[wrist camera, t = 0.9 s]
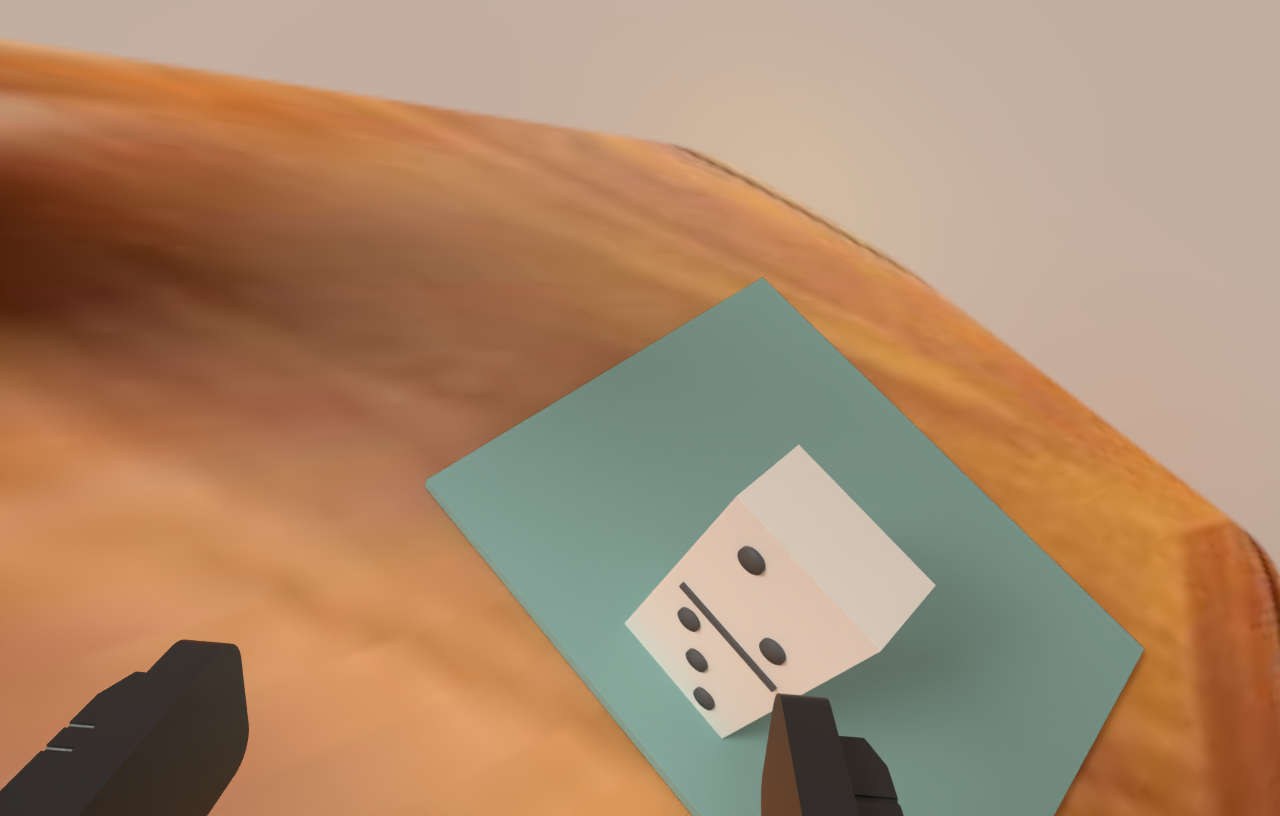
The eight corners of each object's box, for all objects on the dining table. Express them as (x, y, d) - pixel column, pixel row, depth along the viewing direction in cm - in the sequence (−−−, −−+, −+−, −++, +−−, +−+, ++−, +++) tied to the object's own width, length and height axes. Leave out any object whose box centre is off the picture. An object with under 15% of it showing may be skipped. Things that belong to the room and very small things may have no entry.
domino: (621, 625, 31) (733, 499, 22) (676, 578, 33) (798, 444, 24) (719, 741, 30) (877, 654, 21) (770, 686, 32) (935, 585, 23)
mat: (424, 486, 32) (426, 479, 32) (758, 284, 45) (762, 277, 44) (902, 1073, 26) (912, 1075, 26) (1134, 652, 39) (1144, 648, 38)
